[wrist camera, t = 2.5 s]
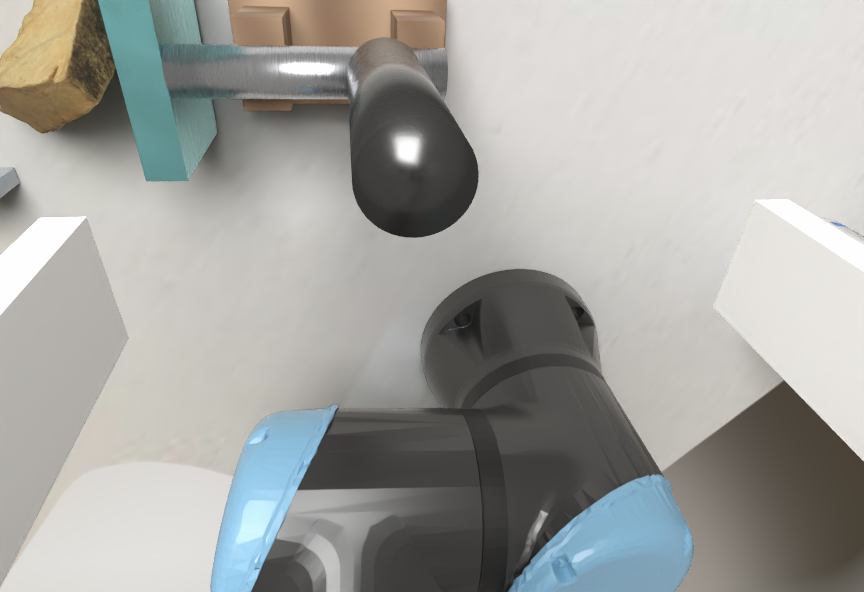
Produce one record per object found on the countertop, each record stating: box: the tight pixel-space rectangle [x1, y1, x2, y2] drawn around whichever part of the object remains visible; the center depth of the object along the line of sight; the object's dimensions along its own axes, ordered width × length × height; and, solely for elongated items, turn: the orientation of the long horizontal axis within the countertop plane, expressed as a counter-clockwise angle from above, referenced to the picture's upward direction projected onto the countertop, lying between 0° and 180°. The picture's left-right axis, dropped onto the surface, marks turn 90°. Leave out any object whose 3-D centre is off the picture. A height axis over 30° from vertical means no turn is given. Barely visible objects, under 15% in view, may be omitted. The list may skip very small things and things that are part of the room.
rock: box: [0, 0, 116, 133], centre depth 29 cm, size 10×8×10 cm
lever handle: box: [98, 0, 478, 238], centre depth 23 cm, size 15×10×21 cm, turn 88°
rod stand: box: [228, 0, 447, 111], centre depth 31 cm, size 12×6×6 cm, turn 88°
